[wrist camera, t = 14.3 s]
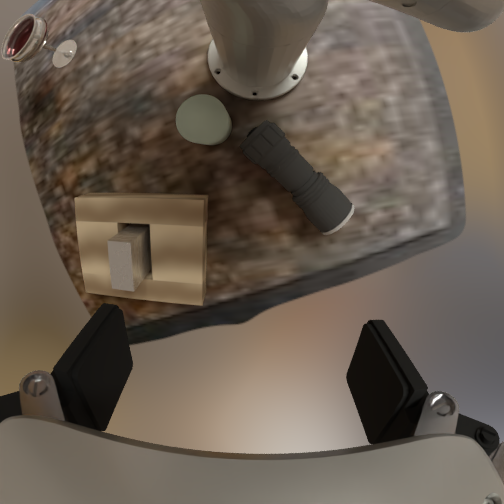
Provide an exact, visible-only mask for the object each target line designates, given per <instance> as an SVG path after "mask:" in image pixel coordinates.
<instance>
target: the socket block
mask: <svg viewBox="0 0 504 504" xmlns="http://www.w3.org/2000/svg"><path fill="white" fill-rule="evenodd" d="M75 213H76V226H77V236H78V244H79V252H80V259H81V266H82V273H83V279H84V284H85V290H86V292H87V293H94V294H101V295H109V296H116V297H124V298H132V299H141V300H150V301H159V302H169V303H179V304H190V305H203V301H204V298H205V294H206V261H207V219H208V195H197V194H169V193H87V194H85V195H82V196H79V197H76V198H75ZM129 223H139V224H150V241H151V261H152V268H151V270H150V271H149V272H148V274H147V275H146V276H145V278H144V279H143V280H142V282H141V283H140V284H139V286H138V287H137V289H136V290H135V291H134V292H133V291H126V290H119V289H112V285H111V276H110V266H109V256H108V243H107V241H108V240H109V239H110V238H112V237H113V236H115V235H116V234H117V233H119V232H120V231H122V230H123V229H124V228H126V227H127V226H129Z"/></svg>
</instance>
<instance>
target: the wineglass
mask: <svg viewBox="0 0 504 504" xmlns="http://www.w3.org/2000/svg"><path fill="white" fill-rule="evenodd" d="M48 32H49V31H48V25H47V23H46V21H45V20H44V19H42V18H40V17H34V15H32V14H27V15H24V16H23V17H21V18H20V19H18V20H17V21H16V22H15V23H14V25H13V26H12V27H11V28H10V29H9V31H8V33H7V34H6V36H5V39H4V41H3V44H2V48H1V55H2V57H3V58H4V59H5V60H12V61H13V62H25V61H28V60H30V59H32V58H33V57H34V56H35V55H37V54H38V53H39V52H40V51H41V49H42V48H44V49H48V50H51V51H54V52H55V53H54V55H53V64H54V66H55V67H57V68H61V67H64V66H65V65H67V64H68V63H69V62H70V61H71V60H72V58H73V57H74V55H75V53H76V49H77V46H76V43H75V41H73V40H67V41H65V42H63V43H62V44H61V45H60V46H59V47H58V48H57V49H56V48H54V47H52V46H50V45H48V44H45V43H46V41H47V37H48Z"/></svg>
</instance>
